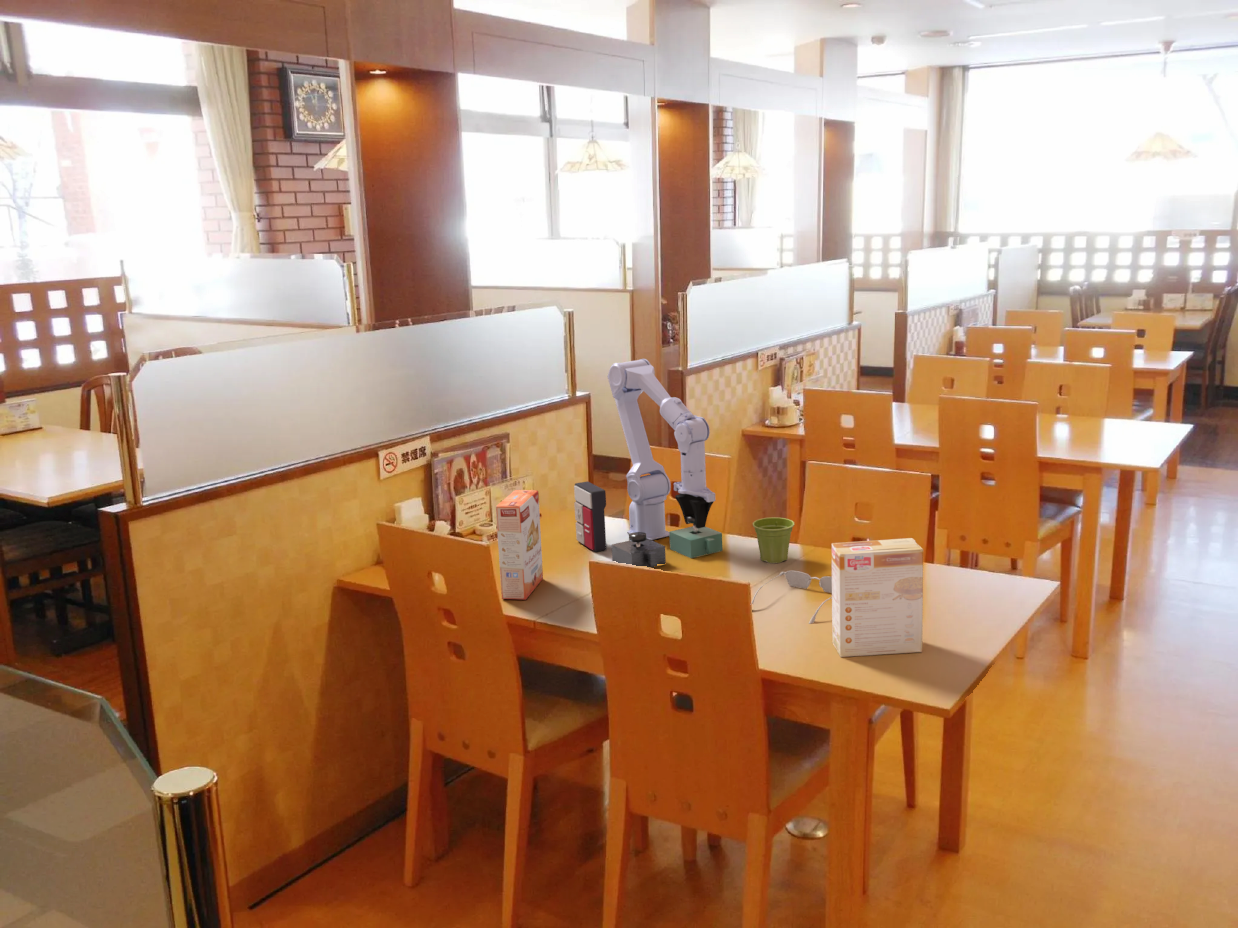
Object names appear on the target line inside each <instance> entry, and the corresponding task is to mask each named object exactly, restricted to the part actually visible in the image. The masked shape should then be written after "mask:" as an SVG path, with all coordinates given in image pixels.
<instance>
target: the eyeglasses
mask: <svg viewBox="0 0 1238 928" xmlns="http://www.w3.org/2000/svg"><path fill="white" fill-rule="evenodd" d="M783 575H784V576H785V580H786V582H787V584H788V585H789V587H794V588H800V589H806V590H807V589H808V588H809V587H810V585H811V583H812V580H818V581H819V582H818V583H819V587H820V588H821V589H822V590H823V592H825V593H829V594H832V576H822V577H821V578H819V577H817V576H811V575H809V573H806V572H803V571H798V570H787V571H781V572H780V573H779V574H778V575H777V576H775V577H773V578H772V579H770V580H769V581H767V582H766V583H764V584H763V585H761V586H760V587H759V588H758V589H757V590H756V591H755V594H754V596H753V598H752V600H751V603H752V604H753V605H754V602H755V599H756V597H757V595H758V592H759V591H760V590H761V589H762V588H763V587H764V586H765V585H767V584H768V583H769V582H771V581H773V580H775V579H776V578H778V577H782V576H783ZM829 600H832V596H830V597H829V598H827V599H825V600H824V601H822V603H821V604H820V605H819V606H818V608H817V609H816V610H815V612H814V614H813V615H812V616H811V618H810V620H809V622H808V624H810V625H811V624H813V623H815V621H816V617H817V615H818V613H819V611H820V609H821V607H822V606H823V605H824V604H825V603H826V602H828V601H829Z"/></svg>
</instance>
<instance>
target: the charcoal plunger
mask: <svg viewBox="0 0 1238 928" xmlns="http://www.w3.org/2000/svg"><path fill="white" fill-rule="evenodd" d="M646 539H647V538H646V533H644V532H633V533H630V534H629V533H628V541H631V542H636V548H637V547H640V542H643V541H645V540H646Z"/></svg>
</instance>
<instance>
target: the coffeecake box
mask: <svg viewBox="0 0 1238 928" xmlns="http://www.w3.org/2000/svg"><path fill="white" fill-rule="evenodd" d="M831 577H832V593H831V597H832V598H831V618H832V619H831V621H832V622H831V630H832V632H831V634H832V635H831V636H832V640H831V641H832V642H831V643H832V644H833V646H834V648H835V649H836V651H837V654H838V655H839V657H840V658H847V657H849V658H850V657H860V656H861V657H862V656H877V655H878V656H879V655H894V654H896V655H897V654H908V653H909V654H912V653H922V652H923V616H924V615H923V613H924V612H923V611H924V609H923V608H924V607H923V605H924V599H923V598H924V583H923V582H924V548H922V547H921V545H919V544H918V543H917V542H916V540H915V539H914V538H912V537H907V538H892V539H880V540H879V539H877V540H862V541H861V540H860V541H847V542H832V543H831Z"/></svg>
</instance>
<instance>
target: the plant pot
mask: <svg viewBox="0 0 1238 928" xmlns="http://www.w3.org/2000/svg"><path fill="white" fill-rule="evenodd" d="M794 526H795V521H793V520H792V519H789V518H785V517H774V516H773V517H764V518H758V519H756V520H754V521H752V527H754V532H755V534H756V539H757V544H758V550H759V556H760V560H761V561H762V562H767V563H769V564H779V563H783V562H784V561H787V560H788V556H789V549H790V548H789V547H790V541H791V534H792V532H793V528H794Z"/></svg>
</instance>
